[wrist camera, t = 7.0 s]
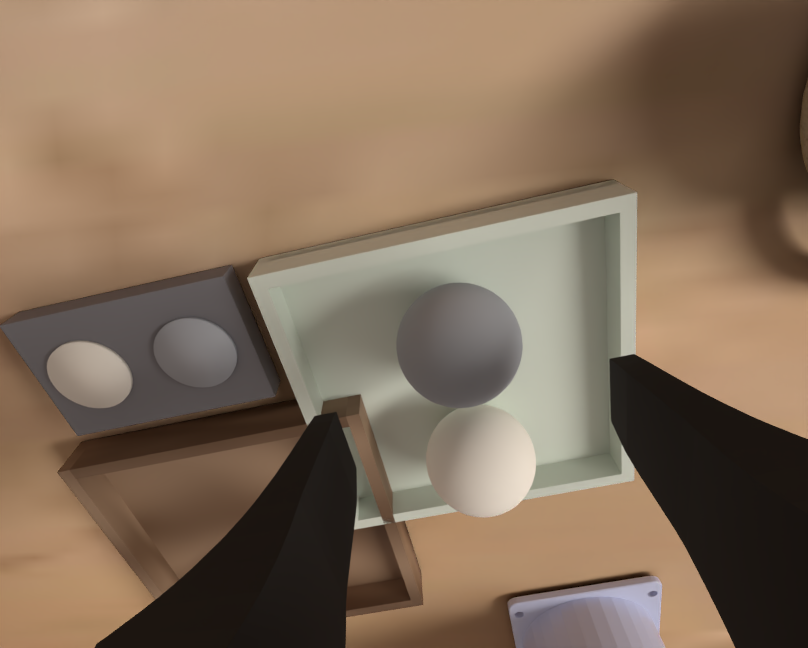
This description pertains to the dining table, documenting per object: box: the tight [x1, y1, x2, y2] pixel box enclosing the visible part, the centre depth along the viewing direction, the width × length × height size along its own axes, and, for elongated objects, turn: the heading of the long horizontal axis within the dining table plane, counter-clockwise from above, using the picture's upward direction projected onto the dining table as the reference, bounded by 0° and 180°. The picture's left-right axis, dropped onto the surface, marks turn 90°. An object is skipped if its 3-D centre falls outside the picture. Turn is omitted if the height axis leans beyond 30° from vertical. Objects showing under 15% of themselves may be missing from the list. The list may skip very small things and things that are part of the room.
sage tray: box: [247, 180, 637, 530], centre depth 18 cm, size 12×12×2 cm
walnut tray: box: [57, 394, 423, 617], centre depth 22 cm, size 12×12×2 cm
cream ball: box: [426, 405, 536, 517], centre depth 18 cm, size 4×4×4 cm
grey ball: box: [396, 283, 523, 408], centre depth 16 cm, size 4×4×4 cm
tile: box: [0, 265, 280, 436], centre depth 18 cm, size 5×8×1 cm, turn 102°
